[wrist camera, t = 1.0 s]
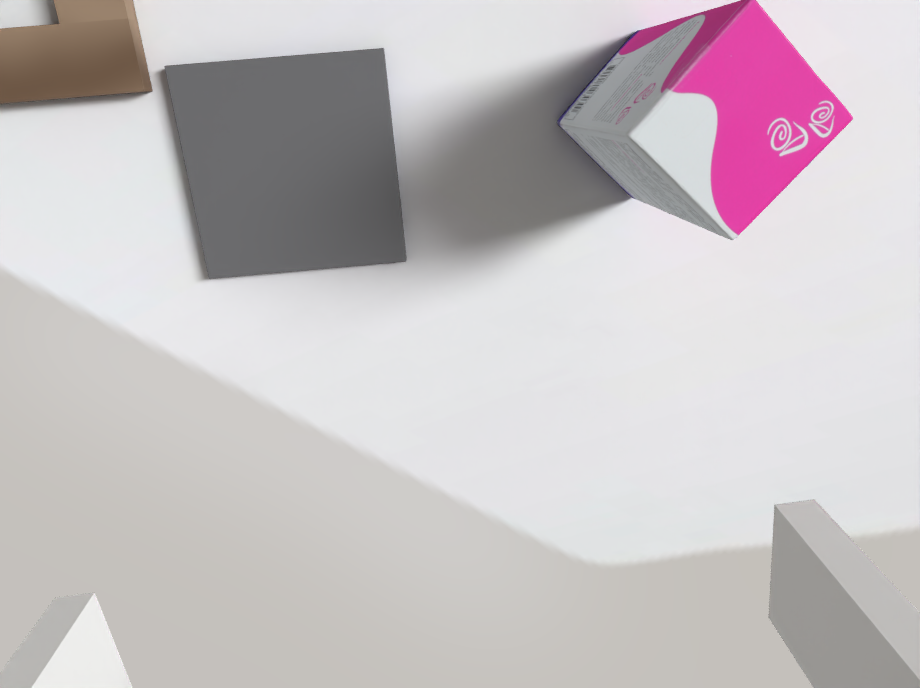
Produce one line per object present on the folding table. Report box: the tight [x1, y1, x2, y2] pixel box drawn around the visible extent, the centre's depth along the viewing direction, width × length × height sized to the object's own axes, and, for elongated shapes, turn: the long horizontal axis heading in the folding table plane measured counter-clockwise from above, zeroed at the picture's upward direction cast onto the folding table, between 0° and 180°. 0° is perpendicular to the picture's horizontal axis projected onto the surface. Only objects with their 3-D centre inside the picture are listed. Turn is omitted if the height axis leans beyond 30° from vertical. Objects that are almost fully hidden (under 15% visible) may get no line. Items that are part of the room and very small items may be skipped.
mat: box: [165, 48, 406, 279], centre depth 33 cm, size 10×10×1 cm
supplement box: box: [557, 0, 853, 240], centre depth 28 cm, size 6×6×12 cm
